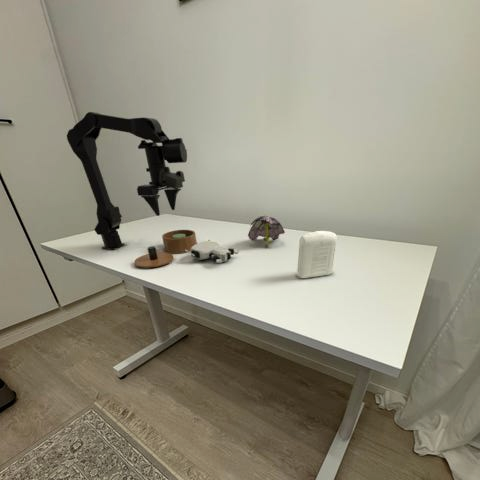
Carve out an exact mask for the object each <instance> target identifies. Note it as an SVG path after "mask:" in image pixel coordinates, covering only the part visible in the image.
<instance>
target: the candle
mask: <svg viewBox="0 0 480 480" xmlns="http://www.w3.org/2000/svg"><path fill="white" fill-rule="evenodd" d="M185 237H186V235H185V234H175V235H173V236H172V238H173V239H179V238H185Z"/></svg>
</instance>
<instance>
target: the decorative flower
mask: <svg viewBox="0 0 480 480" xmlns="http://www.w3.org/2000/svg"><path fill="white" fill-rule="evenodd" d="M249 227H250V229H249V230H248V233H247V237H248V239H249V240H250V241H251V242H253V241H255V240H257V239H258V238H259V237H262V238H263V241H265V242H266V244H265V248H269V246H270V245H271V244H272V241H271V240H273V241H277V239H280V235H285V234H286V231H285V228H284V227H283V225H282V223H281V222H280V221H279V220H278V219H276V218H275V217H271V216H268V215H262V216H258V217H257V218H255V219H253V221H252V222H251V224H250V225H249ZM270 238H271V240H270Z"/></svg>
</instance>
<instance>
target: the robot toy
mask: <svg viewBox="0 0 480 480" xmlns="http://www.w3.org/2000/svg"><path fill="white" fill-rule="evenodd" d="M185 251H186V253H188V254H189V255H190V256H191V257H192V258H195V259H197V260H199V261H202V260H208V259H212V261H213V262H214V264H221V263H223V262H227V261H228V260H231V258H232V256H234V255H238V254H239V250H237V249H236V250H235V249H234V248H227V247H223V246H220V243H218V242H215V241H211V240H210V239H208V240H204V241H200V242H197V244H195V245H194V246H192V247H191V249H190V252H189V251H187V250H185Z"/></svg>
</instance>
